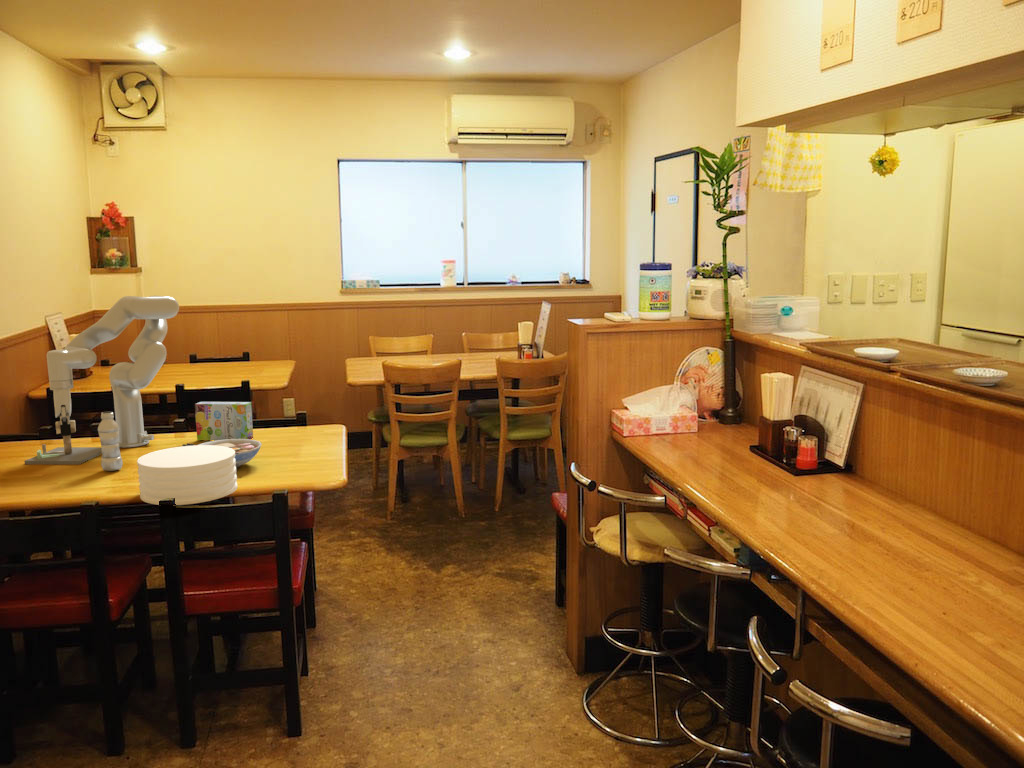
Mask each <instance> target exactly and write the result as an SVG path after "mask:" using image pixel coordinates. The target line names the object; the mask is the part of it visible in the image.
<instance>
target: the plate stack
mask: <svg viewBox="0 0 1024 768" xmlns="http://www.w3.org/2000/svg"><path fill="white" fill-rule="evenodd" d="M136 464H137V467H138V468H137V474H138V483H139V486H138V487H139V491H140V493H139V498H140V500H141V501H143V502H144V503H147V504H151V505H158V506H160V505H159V501H160V500H162V499H166V498H175V504H176V505H175V506H184V505H194V504H200V503H205V502H211V501H214V500H218V499H222V498H225V497H227V496H229V495H231V494H233V493H235V492H236V491H237V489H238V482H237V481H238V476H237V475H238V474H237V468H236V466H235V465H236V459H235V451H234V450H233V449H232V448H229V447H225V446H217V445H199V444H194V445H193V446H182V445H181V446H176V447H167V448H164V449H158V450H156V451H151V452H149V453H146V454H143V455H141V456H139V458H137V461H136Z"/></svg>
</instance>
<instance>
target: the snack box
mask: <svg viewBox="0 0 1024 768" xmlns="http://www.w3.org/2000/svg"><path fill="white" fill-rule="evenodd" d="M252 409H253V408H252V401H199V402H197V403H194V413H195V426H196V427H195V428H196V429H195V430H196V440H214V441H216V440H225V439H252V438H253V439H254V428H253V410H252Z"/></svg>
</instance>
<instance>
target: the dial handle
mask: <svg viewBox="0 0 1024 768" xmlns="http://www.w3.org/2000/svg"><path fill="white" fill-rule="evenodd" d="M54 424H55V430H56V431H55V432H56V435H59V434H60V435H61V430H60V425H61V423H60V420H58V421H55V423H54ZM69 424H70V427H71V434H72V433H76V431H77V428H76V426H77V425H76V420H75V419H70V420H69ZM71 436H72V435H69V436H62V440H63V441H62V442H63V447H64V451H57V452H48V451H47V445H46V444H45V443H44V444H41V448H42V449H41V451H42V454H43V455H50V454H61V453H65V454H71V453H72V447H73V445H72V437H71Z"/></svg>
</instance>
